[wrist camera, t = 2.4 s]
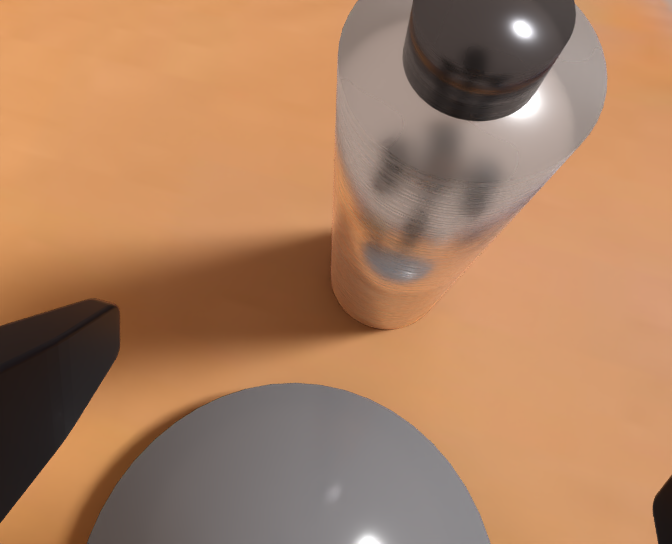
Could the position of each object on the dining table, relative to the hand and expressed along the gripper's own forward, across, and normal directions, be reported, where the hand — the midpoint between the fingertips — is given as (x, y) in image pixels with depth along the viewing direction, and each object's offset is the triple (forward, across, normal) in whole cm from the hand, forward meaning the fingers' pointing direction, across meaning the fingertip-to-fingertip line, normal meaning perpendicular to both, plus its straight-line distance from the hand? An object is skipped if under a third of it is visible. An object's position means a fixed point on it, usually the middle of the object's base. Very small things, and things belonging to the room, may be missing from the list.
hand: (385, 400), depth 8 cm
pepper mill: (+13, 0, +4) cm, 13 cm away
